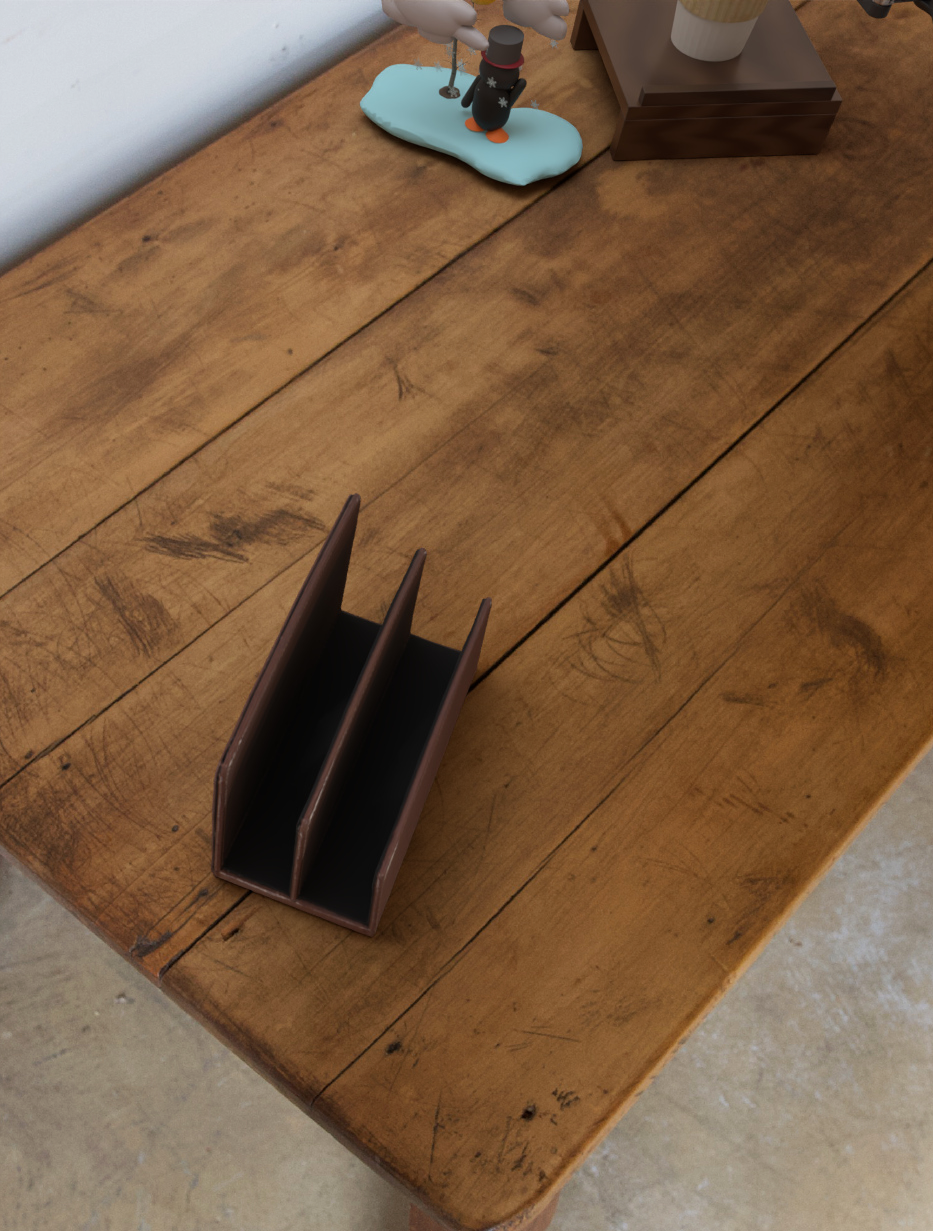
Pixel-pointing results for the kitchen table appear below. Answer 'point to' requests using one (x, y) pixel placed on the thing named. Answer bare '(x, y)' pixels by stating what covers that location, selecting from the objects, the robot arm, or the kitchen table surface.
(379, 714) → the letter holder
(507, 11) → the penguin figurine
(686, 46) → the coffee cup
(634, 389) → the kitchen table surface
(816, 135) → the brown wooden stand
